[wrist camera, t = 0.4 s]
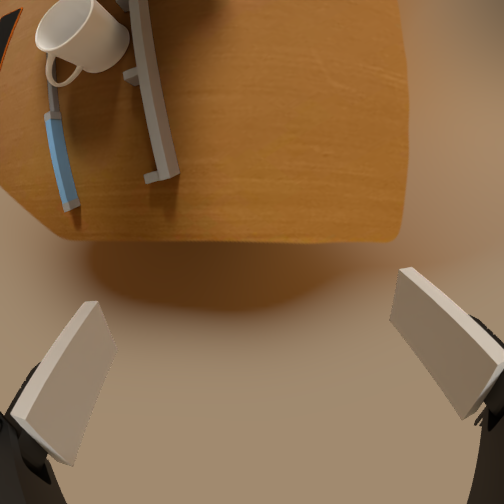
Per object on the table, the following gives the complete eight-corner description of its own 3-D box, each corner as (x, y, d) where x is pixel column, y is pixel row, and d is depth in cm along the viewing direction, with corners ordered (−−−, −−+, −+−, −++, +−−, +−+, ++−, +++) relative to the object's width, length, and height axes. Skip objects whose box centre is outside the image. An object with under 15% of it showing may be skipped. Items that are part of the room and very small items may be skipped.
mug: (97, 100, 29) (49, 87, 18) (59, 85, 27) (10, 73, 16) (141, 30, 26) (110, -7, 14) (99, 19, 24) (62, -12, 12)
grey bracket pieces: (50, 45, 24) (30, 36, 18) (147, -2, 23) (136, -20, 18) (74, 207, 34) (53, 217, 28) (180, 173, 34) (170, 178, 28)
